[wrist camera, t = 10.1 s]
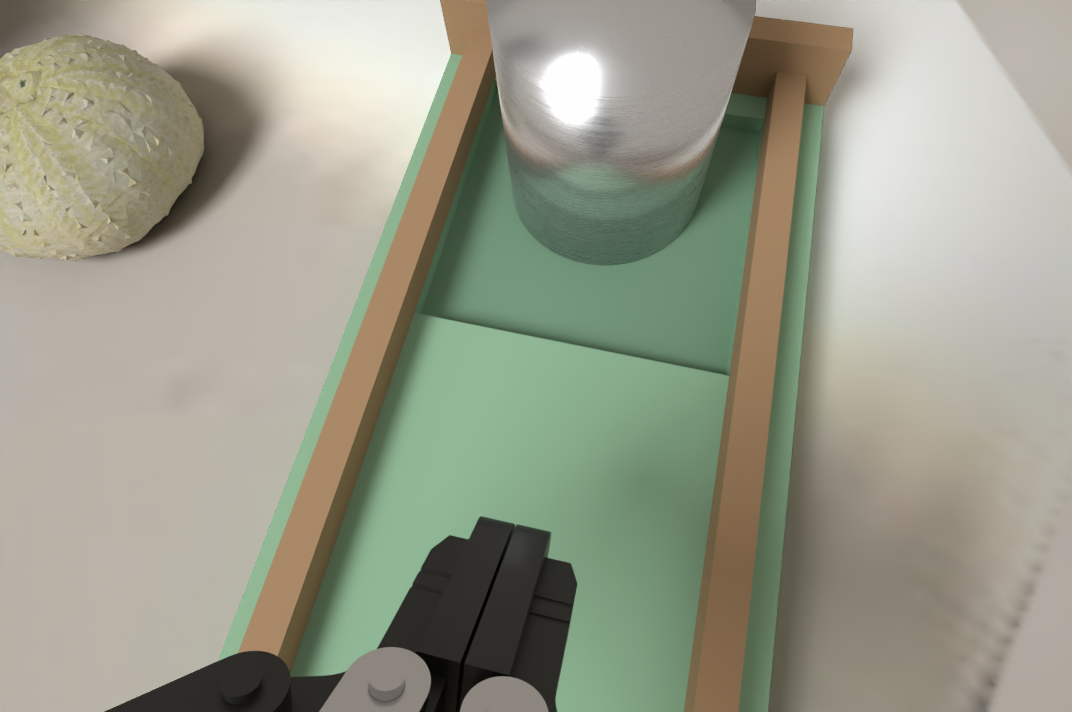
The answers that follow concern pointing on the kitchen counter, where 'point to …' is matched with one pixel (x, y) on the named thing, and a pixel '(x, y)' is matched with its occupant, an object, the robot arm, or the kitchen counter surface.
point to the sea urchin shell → (89, 147)
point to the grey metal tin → (613, 115)
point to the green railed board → (569, 401)
